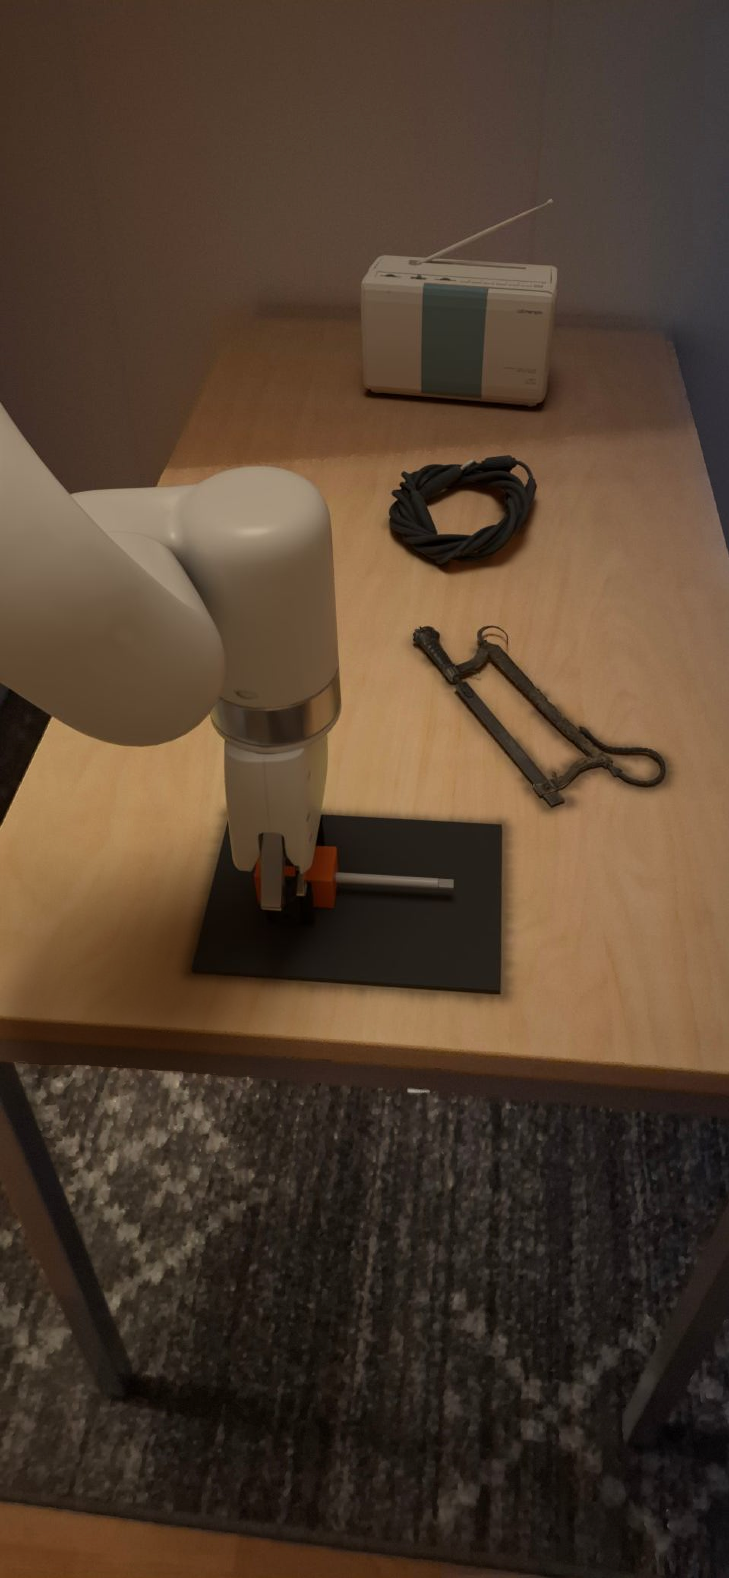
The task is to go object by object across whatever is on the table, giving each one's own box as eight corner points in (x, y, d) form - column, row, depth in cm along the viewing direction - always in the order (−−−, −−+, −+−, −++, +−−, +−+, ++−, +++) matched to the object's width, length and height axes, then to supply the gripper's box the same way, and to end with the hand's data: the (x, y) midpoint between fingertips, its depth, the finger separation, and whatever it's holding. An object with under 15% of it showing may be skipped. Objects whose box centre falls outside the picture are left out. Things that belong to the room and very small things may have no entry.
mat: (191, 972, 68) (190, 969, 68) (230, 812, 77) (230, 808, 77) (500, 993, 66) (500, 990, 66) (501, 827, 76) (501, 824, 75)
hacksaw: (406, 638, 91) (406, 624, 90) (508, 604, 94) (509, 590, 93) (561, 824, 76) (563, 810, 75) (676, 776, 79) (680, 762, 78)
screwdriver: (258, 903, 71) (253, 876, 69) (265, 869, 73) (261, 841, 71) (451, 915, 70) (453, 888, 68) (453, 880, 72) (455, 853, 70)
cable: (512, 584, 96) (516, 543, 93) (365, 562, 99) (364, 522, 95) (542, 487, 107) (547, 447, 104) (410, 470, 110) (411, 431, 107)
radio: (361, 399, 121) (355, 212, 106) (376, 367, 126) (373, 184, 111) (542, 415, 117) (562, 223, 102) (550, 381, 122) (570, 195, 108)
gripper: (235, 594, 64) (263, 793, 78) (174, 796, 53) (220, 989, 66) (355, 598, 64) (363, 798, 77) (321, 804, 52) (337, 997, 66)
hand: (297, 885), depth 72 cm, fingers open, 4 cm apart
